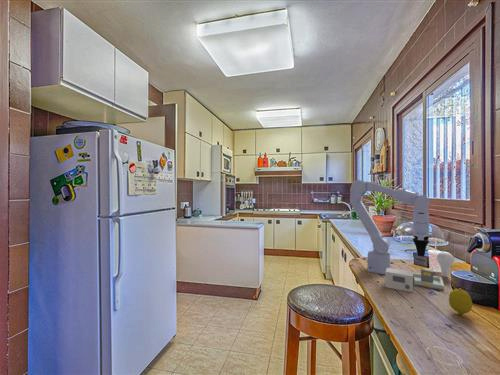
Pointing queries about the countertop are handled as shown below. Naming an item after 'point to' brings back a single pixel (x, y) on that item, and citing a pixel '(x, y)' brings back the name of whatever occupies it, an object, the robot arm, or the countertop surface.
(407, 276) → the control box
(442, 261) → the lightbulb
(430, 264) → the beverage cup
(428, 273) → the block
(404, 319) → the countertop surface
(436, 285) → the parts tray
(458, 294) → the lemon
